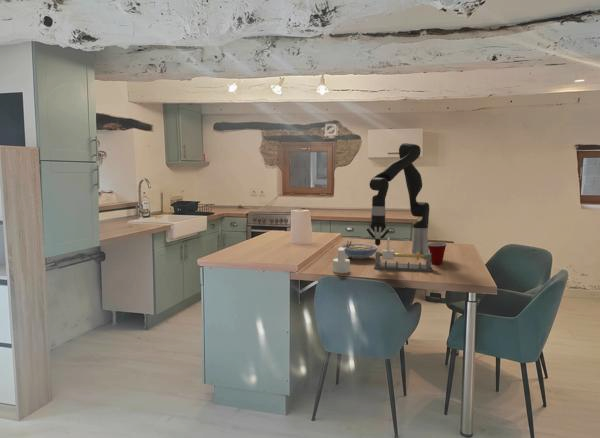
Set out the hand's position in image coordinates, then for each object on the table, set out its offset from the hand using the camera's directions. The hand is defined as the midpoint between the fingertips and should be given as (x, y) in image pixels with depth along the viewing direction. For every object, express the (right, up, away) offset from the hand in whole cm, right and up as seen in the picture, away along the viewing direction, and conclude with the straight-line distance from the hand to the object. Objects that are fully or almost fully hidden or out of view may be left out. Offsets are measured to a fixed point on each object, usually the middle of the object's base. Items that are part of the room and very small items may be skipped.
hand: (377, 245), depth 247 cm
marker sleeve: (+6, -7, -1) cm, 9 cm away
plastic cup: (+35, -11, +9) cm, 38 cm away
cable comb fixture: (+13, -12, -2) cm, 18 cm away
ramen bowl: (-7, -10, +24) cm, 27 cm away
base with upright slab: (-21, -13, -9) cm, 26 cm away
